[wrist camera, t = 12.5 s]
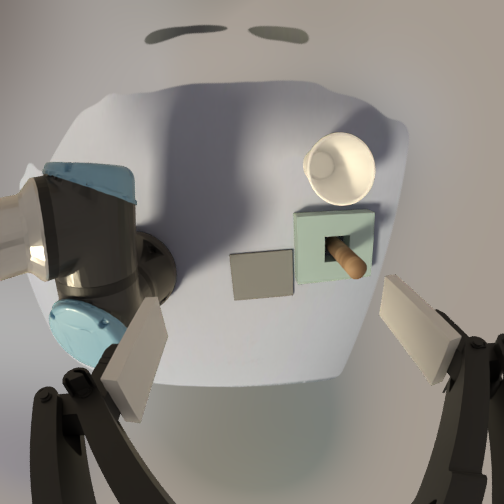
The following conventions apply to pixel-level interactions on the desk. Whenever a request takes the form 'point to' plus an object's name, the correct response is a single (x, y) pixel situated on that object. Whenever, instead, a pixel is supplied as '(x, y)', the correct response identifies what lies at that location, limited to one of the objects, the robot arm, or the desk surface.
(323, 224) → the socket block
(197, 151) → the desk surface
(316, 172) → the cup
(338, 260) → the peg
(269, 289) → the mat
